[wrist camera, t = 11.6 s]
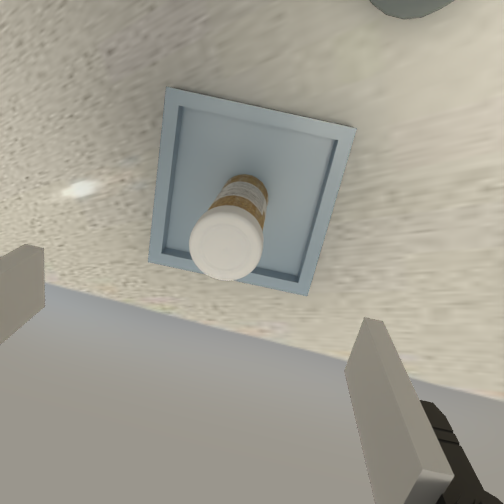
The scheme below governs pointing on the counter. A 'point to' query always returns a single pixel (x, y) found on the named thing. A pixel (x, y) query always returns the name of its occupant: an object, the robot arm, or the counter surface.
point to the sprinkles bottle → (231, 230)
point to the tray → (251, 163)
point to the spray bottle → (409, 7)
